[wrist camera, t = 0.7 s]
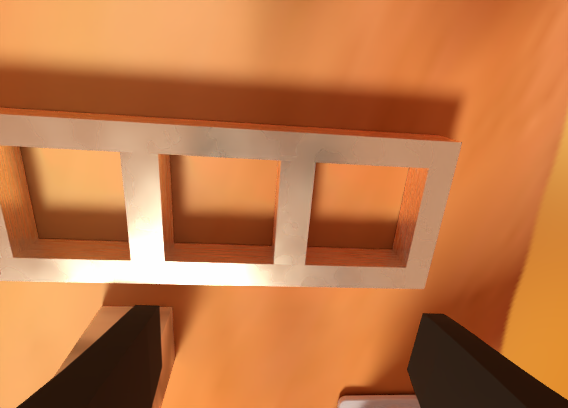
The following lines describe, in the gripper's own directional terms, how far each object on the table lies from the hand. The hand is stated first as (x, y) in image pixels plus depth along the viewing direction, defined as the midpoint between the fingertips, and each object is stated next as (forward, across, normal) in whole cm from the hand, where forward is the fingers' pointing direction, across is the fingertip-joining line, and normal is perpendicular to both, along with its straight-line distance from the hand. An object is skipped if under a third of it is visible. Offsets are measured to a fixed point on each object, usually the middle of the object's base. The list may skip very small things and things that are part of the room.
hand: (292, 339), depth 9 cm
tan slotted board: (+10, +3, 0) cm, 10 cm away
